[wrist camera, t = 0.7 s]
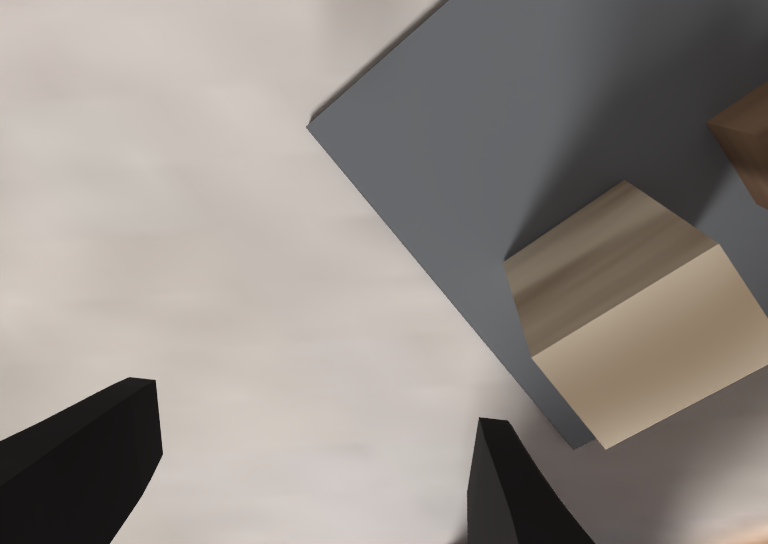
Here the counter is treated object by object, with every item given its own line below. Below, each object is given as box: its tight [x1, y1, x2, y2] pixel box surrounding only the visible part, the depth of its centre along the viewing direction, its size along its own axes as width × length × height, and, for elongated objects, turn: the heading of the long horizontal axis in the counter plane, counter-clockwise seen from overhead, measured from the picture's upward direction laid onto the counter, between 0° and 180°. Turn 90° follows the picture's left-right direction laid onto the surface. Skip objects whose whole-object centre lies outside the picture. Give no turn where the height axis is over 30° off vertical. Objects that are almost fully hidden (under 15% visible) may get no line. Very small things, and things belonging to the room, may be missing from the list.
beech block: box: [503, 180, 768, 449], centre depth 17 cm, size 4×5×7 cm
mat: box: [306, 0, 768, 450], centre depth 19 cm, size 17×16×1 cm
